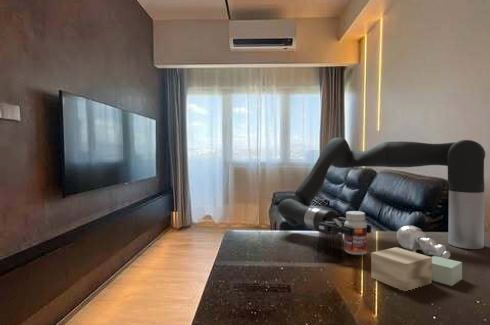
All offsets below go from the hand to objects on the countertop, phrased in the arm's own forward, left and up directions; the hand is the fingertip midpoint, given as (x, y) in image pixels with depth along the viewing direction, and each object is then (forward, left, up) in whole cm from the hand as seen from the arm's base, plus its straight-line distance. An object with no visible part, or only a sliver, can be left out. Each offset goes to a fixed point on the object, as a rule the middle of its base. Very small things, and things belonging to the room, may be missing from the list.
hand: (362, 230), depth 90 cm
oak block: (+5, +15, -8) cm, 18 cm away
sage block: (-5, +19, -8) cm, 21 cm away
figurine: (-18, +6, -8) cm, 20 cm away
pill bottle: (0, -2, -7) cm, 7 cm away
